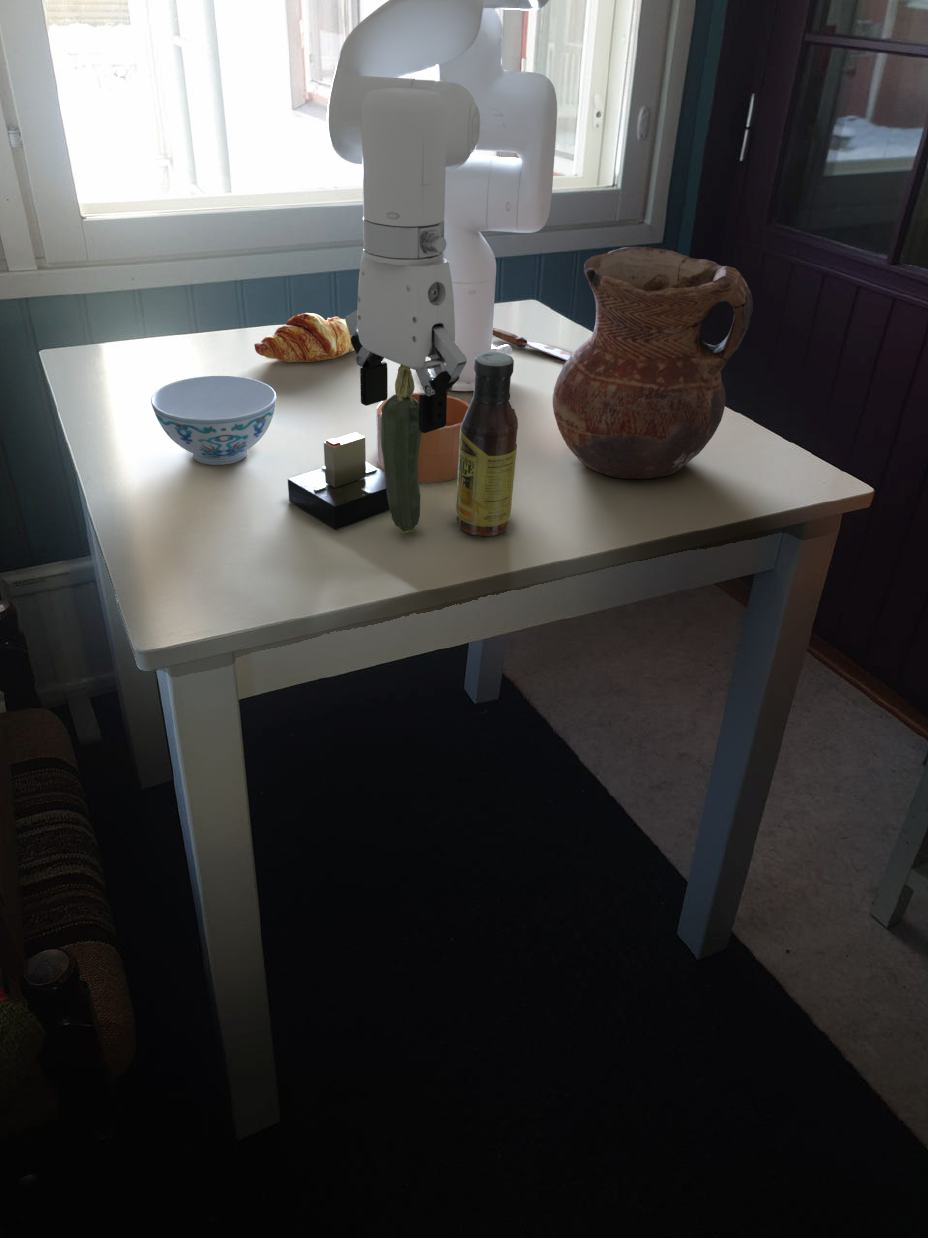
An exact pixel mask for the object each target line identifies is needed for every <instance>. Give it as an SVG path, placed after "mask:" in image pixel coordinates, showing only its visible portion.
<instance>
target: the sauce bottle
mask: <svg viewBox="0 0 928 1238" xmlns="http://www.w3.org/2000/svg"><path fill="white" fill-rule="evenodd" d="M514 364H515V360H514V358H513V357H512V355H511V356H509V355H507V354H503V353H499V352H486V353H485V352H484V353H481V354H479V355H478V356H476V357H475V362H474V371H475V389H474V391H473V394H472V395H473V396H472V398H471V400H470V402H469V404H470V405H469V407H468V410H467V412H466V414H465V417H464V419H463V422H462V424H461V427H460V442H459V459H458V478H457V482H456V502H455V503H456V504H455V505H456V506H455V513H456V524H457V525H458V527H459V529H461V530H462V531H464V533H466V534H467V535H470V536H476V537H477V536H478V537H495V536H498V535H499V536H500V535H501V534H503V533H505V531H506V530H507V529H508V527H509V523H510V519H511V516H512V515H511V514H512V503H513V493H514V484H515V483H514V482H515V474H516V473H515V472H516V471H515V470H516V461H517V451H518V449H517V448H518V444H517V440H518V439H517V436H518V429H519V426H518V425H519V422H518V417H517V414H516V410H515V409H514V408H513V407H512V404H511V402H510V399H511V392H510V390H511V381H512V378H511V377H512V375H513V373H514V367H515V365H514Z"/></svg>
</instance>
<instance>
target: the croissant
mask: <svg viewBox="0 0 928 1238" xmlns="http://www.w3.org/2000/svg"><path fill="white" fill-rule="evenodd" d="M351 337H352V336H350V333H349V330H348V327H347V324H346V321H345V320H344V319H342V318H340V317H339V316H332V317H327V319H326V320H325V319H324V317H322V316H321V315H319V314H318V313H310V312H305V313H301V314H300V313H299V314H295V315H293V316H291V317H290V318H289V319H287V320H286V324H285V325H282V326H280V327H278V328H277V329H275V332H274V333H273V335H266V336H265V337H264V338H263V339H262V340H261V341H260V342H256V343H254V350H255V352H256V354H258V355H259V356H262V357H265V358H266V359H271V360H278V361H281V362H285V363H286V362H287V363H290V364H291V363H292V364H293V363H296V362H298V363H301V362H303V363H312V362H313V363H314V362H319V361H324V360H333V359H336V358H339V357H343V356H344V355H345V354H347V353H352V352H355V350H354V348H353V346H352V344H351Z"/></svg>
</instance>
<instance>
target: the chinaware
mask: <svg viewBox="0 0 928 1238" xmlns="http://www.w3.org/2000/svg"><path fill="white" fill-rule="evenodd" d="M276 401H277V394H276V391H275V390H274V389H273V387H271V385H269V384H267V383H265V382H262V381H260V380H257V379H253V378H250V377H245V376H244V377H243V376H235V375H206V376H205V375H204V376H196V377H191V378H189V377H188V378H185V379H180V380H177V381H174V382H170V383H168V384H166V385H164V386H162V387H160V388H159V389H157V390H156V391H154V393H153V394H152V396H151V399H150V404H151V406H152V410H153V412H154V414H155V417H156V419H157V421H158V423H159V425H160V427H161V428H162V429H163V431H164V433H165V434H166V435H167V436H168V437H169V438H170V439H171V440H172V441H173V442H174V443H175V444H176V445H178V446H179V447H180V448H181V449H183V450H184V451H187V452H188V453H191V454H192V456H193V458H194V460H196V461H197V462H199V463H202V464H204V465H209V466H210V465H211V466H223V465H230V464H234V463H238V462H239V461H242V460H244V459H245V458H246V457H247V455H248V451H249V450H250V449H251V448H252V447H254V446H255V445H256V444H257V443H258V442H259V441H260V440H261V439H262V438H263V436H264V435H265V434H266V432H267V431H268V429H269V427H270V425H271V423H272V420H273V417H274V414H275V413H274V412H275V408H276Z"/></svg>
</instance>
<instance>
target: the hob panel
mask: <svg viewBox="0 0 928 1238" xmlns="http://www.w3.org/2000/svg"><path fill="white" fill-rule="evenodd" d="M287 489H288V492H287V493H288V503H290V504H291V505H293V506H294V507H297V508H298V509H299V510H301V511H303V512H305V513H306V514H308V515H309V516H311V517H313V518H314V519H316V520H317V521H319V522H321V523H323V524H324V525H326V526H328V527H329V528H331V529H332V530H335V531H338V530H341V529H343V528H347V527H349V526H351V525H355V524H357V523H359V522H362V521H364V520H367V519H370V518H373V517H375V516H378V515H380V514H383V513H385V512H388V511H389V512H390V509H389V505H388V498H387V487H386V477H385V472H384V471H382V470H381V469H380V468H379V467H376V466H374V465H372V464H370V463H368V462H366V477H364V478H362V479H359V480H356V481H353V482H350V483H347V484H344V485H342V486H339V487H336V488H334V487H332V486H331V485H329V484H327V483H326V482H325V465H323V466H321V468H317V469H314V470H310V471H308V472H305V473H302V474H299V475H295V476H292V477H290V478H287Z"/></svg>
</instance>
